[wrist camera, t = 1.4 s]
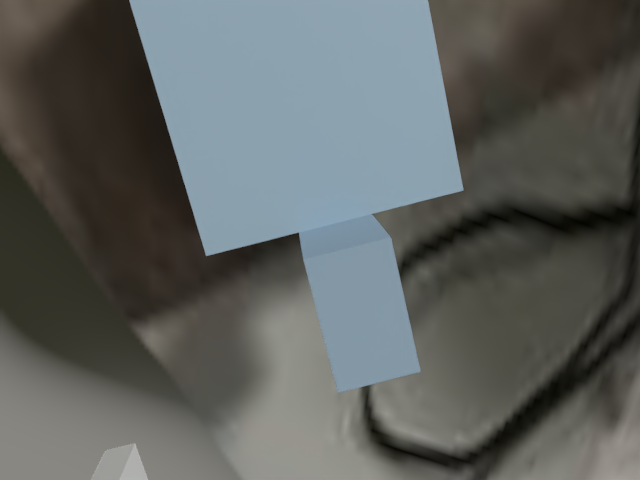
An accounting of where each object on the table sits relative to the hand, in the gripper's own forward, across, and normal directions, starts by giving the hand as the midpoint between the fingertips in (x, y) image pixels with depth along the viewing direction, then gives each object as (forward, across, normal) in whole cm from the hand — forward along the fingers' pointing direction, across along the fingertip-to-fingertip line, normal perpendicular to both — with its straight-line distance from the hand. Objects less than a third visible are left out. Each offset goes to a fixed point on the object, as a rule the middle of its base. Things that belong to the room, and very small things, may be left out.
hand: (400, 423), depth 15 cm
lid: (+12, 0, +8) cm, 14 cm away
